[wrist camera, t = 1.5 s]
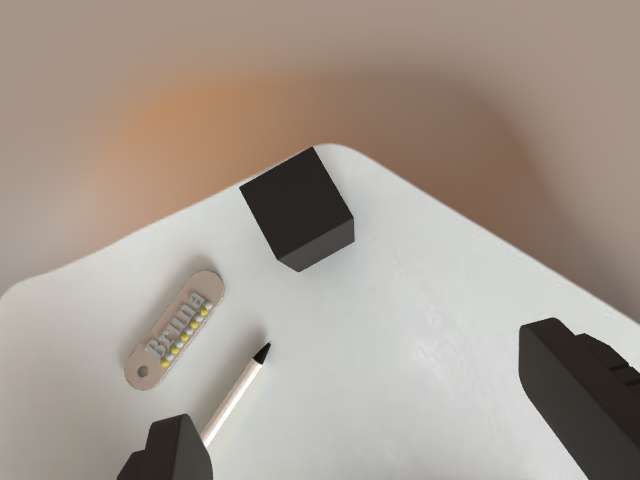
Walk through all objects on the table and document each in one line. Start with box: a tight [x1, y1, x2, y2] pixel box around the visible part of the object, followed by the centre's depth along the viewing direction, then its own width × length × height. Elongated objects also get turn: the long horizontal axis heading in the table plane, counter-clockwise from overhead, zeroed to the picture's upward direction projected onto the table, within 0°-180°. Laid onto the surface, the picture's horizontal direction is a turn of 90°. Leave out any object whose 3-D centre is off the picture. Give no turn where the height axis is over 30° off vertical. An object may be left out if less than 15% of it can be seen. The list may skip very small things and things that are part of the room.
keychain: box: [125, 271, 224, 390], centre depth 34 cm, size 10×1×3 cm
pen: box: [200, 341, 271, 448], centre depth 32 cm, size 1×19×1 cm, turn 145°
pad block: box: [239, 147, 355, 272], centre depth 30 cm, size 5×5×9 cm
